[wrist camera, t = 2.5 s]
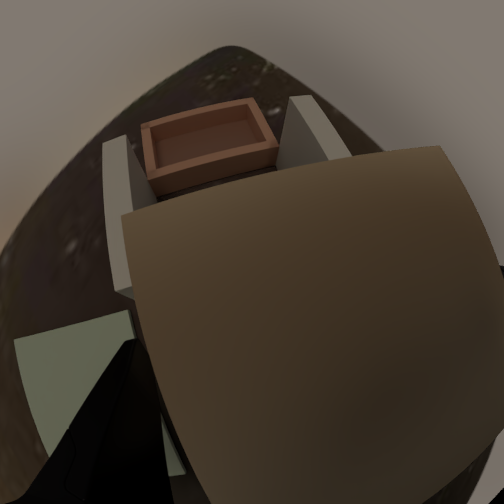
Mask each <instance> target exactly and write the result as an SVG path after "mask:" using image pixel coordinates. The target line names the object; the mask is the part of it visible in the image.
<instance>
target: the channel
mask: <svg viewBox="0 0 504 504" xmlns="http://www.w3.org/2000/svg"><path fill="white" fill-rule="evenodd" d="M351 156H352V155H351V154H350V152H349V151H348V149H347V147H346V146H345V144H344V143H343V141H342V139H341V138H340V136H339V135H338V133H337V132H336V130H335V129H334V127H333V126H332V124H331V123H330V121H329V120H328V118H327V117H326V115H325V114H324V113H323V111H322V110H321V108H320V107H319V105H318V104H317V103H316V101H315V100H314V99H313V97H312V96H311V95H305V96H294V97H289V102H288V107H287V112H286V117H285V122H284V127H283V131H282V136H281V141H280V146H279V151H278V155H277V160H276V165H275V166H276V168H277V170H278V171H279V170H283V169H288V168H293V167H297V166H302V165H307V164H312V163H318V162H323V161H328V160H334V159H340V158H345V157H351ZM103 194H104V210H105V222H106V232H107V241H108V250H109V257H110V264H111V270H112V277H113V283H114V288H115V291H116V292H118V293H120V294H122V295H125V296H127V297H129V298H131V299H133V300H135V298H134V293H133V289H132V284H131V279H130V274H129V268H128V262H127V257H126V250H125V244H124V237H123V230H122V222H121V215H124V214H127V213H130V212H132V211H135V210H138V209H141V208H144V207H147V206H150V205H153V204H157V199H156V196H155V194H154V192H153V190H152V188H151V186H150V184H149V182H148V180H147V178H146V176H145V174H144V172H143V170H142V168H141V166H140V164H139V161H138V159H137V157H136V155H135V153H134V151H133V149H132V147H131V145H130V142H129V140H128V138H127V136H126V135H123V136H120V137H118V138H115V139H113V140H110V141H107V142H105V143H103Z"/></svg>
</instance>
